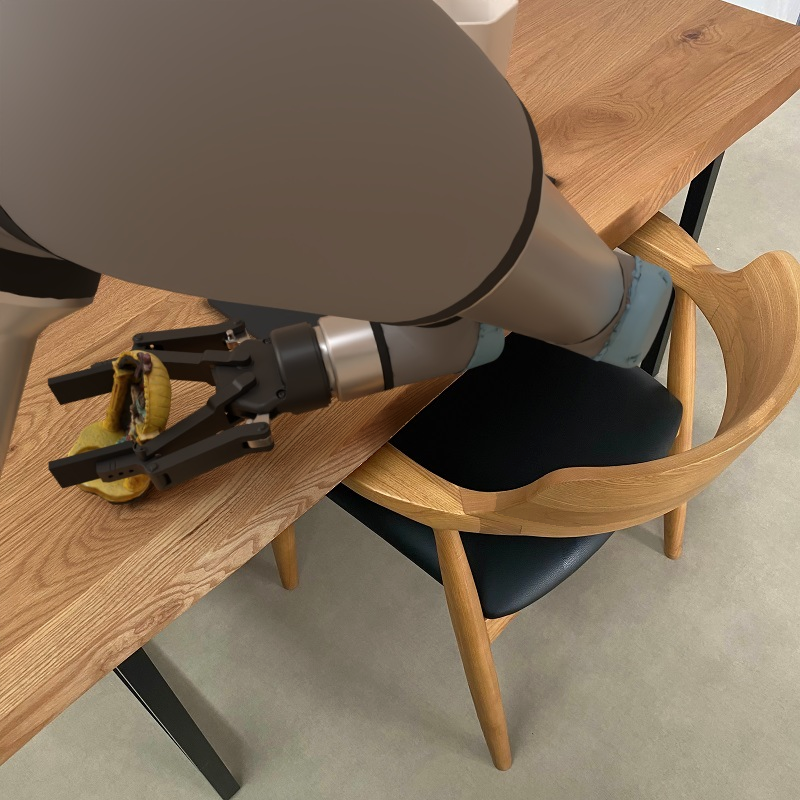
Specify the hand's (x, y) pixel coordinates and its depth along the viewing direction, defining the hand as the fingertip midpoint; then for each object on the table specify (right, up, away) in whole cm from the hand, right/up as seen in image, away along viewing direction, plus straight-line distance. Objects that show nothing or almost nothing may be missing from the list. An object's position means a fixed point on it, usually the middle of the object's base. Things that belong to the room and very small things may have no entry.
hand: (54, 431), depth 65 cm
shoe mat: (+27, +21, +25) cm, 42 cm away
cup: (+37, +36, +36) cm, 62 cm away
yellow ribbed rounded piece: (+5, -4, +7) cm, 9 cm away
